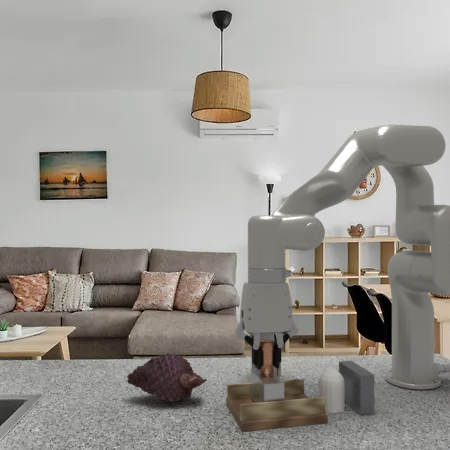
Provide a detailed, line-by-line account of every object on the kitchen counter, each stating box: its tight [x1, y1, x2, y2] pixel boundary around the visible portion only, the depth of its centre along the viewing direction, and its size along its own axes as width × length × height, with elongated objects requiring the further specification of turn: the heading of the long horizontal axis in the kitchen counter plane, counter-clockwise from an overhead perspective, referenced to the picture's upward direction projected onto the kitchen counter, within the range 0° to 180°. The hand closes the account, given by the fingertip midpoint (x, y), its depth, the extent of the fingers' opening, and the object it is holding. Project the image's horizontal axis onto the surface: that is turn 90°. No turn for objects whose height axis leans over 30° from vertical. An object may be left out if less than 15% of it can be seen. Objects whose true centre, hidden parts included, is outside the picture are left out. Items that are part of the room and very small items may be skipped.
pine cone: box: [126, 353, 208, 403], centre depth 108 cm, size 18×10×10 cm, turn 85°
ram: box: [250, 339, 284, 403], centre depth 100 cm, size 4×10×13 cm, turn 12°
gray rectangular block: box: [338, 360, 375, 416], centre depth 105 cm, size 3×10×8 cm, turn 12°
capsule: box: [318, 368, 346, 414], centre depth 104 cm, size 5×5×8 cm
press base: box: [225, 378, 329, 433], centre depth 101 cm, size 17×14×4 cm
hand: (266, 366), depth 100 cm, fingers closed on ram, 3 cm apart
